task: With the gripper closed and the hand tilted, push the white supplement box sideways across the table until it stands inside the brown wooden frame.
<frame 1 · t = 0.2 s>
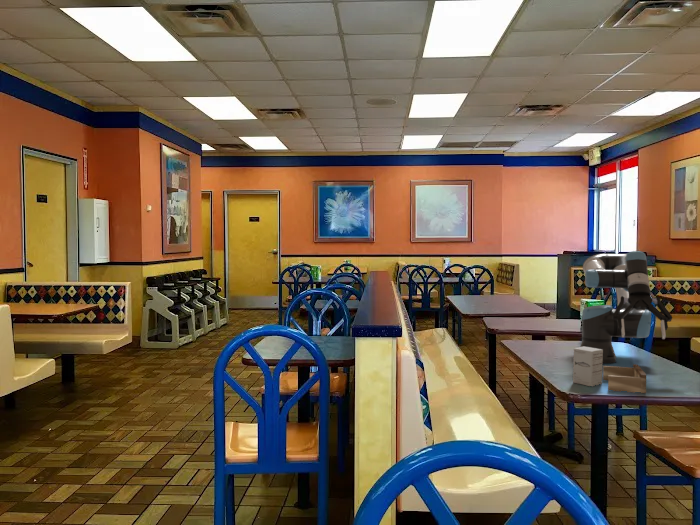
hand: (643, 336, 214), 15 cm above the table, tool tilted 35°, fingers open, 13 cm apart
brown wooden frame: (621, 385, 204), on the table
supplement box: (587, 384, 207), on the table
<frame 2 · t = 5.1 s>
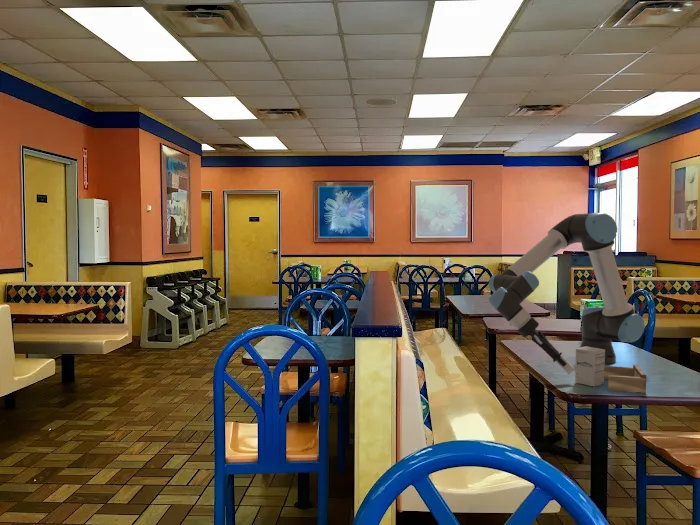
hand: (571, 371, 208), 4 cm above the table, tool tilted 45°, fingers closed
supplement box: (589, 384, 207), on the table, touching gripper
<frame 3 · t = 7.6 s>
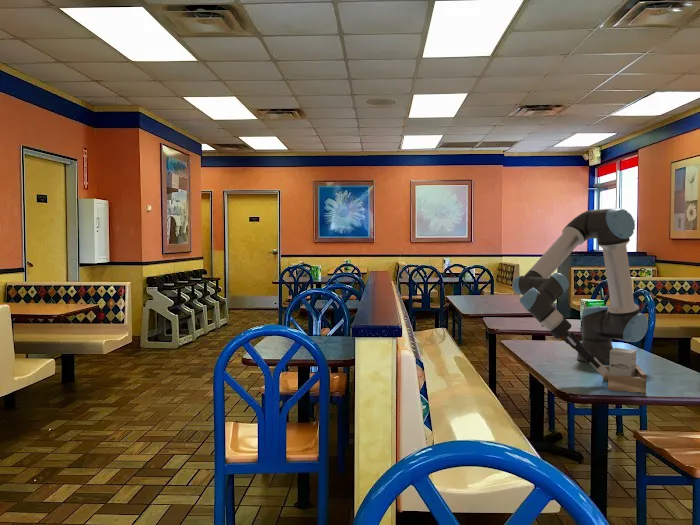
hand: (605, 373, 205), 4 cm above the table, tool tilted 45°, fingers closed
supplement box: (622, 386, 204), on the table, touching gripper
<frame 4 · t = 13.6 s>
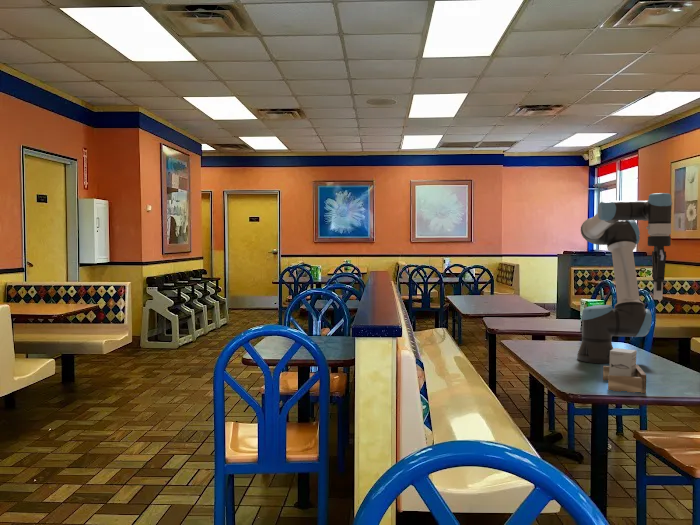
hand: (657, 299, 213), 29 cm above the table, tool pointing down, fingers closed
supplement box: (622, 386, 204), on the table
at the end: supplement box inside the target area (0.5 cm from its centre), on the table; supplement box tilted 0° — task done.
